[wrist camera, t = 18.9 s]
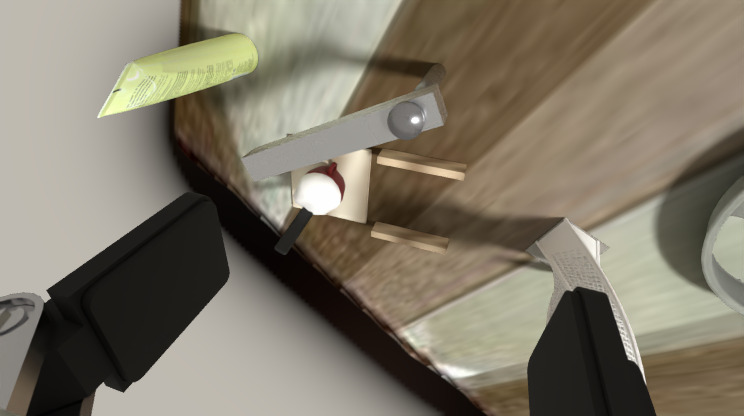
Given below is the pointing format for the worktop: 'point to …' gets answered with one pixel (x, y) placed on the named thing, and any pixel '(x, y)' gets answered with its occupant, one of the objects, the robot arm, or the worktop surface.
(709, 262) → the cake pan
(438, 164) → the holder
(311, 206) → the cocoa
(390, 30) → the worktop surface
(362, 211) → the pad
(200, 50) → the tube
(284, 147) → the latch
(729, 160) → the worktop surface
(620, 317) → the skyscraper
